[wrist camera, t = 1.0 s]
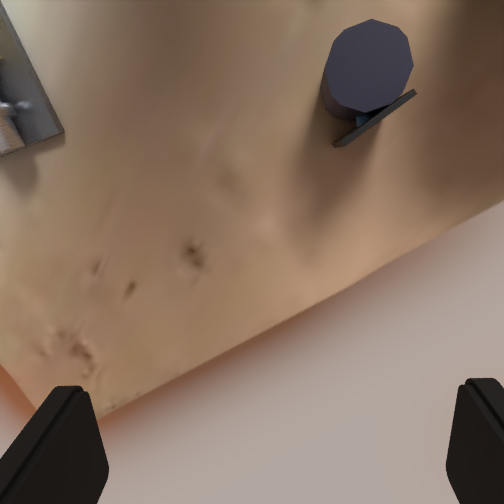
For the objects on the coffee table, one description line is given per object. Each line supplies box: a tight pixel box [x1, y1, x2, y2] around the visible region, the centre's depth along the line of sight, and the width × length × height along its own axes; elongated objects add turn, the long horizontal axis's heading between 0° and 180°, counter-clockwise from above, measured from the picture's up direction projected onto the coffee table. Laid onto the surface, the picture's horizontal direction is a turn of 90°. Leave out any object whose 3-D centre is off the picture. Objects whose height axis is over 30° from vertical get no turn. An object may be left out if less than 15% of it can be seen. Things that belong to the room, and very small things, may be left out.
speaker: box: [320, 19, 417, 148], centre depth 29 cm, size 8×6×10 cm
